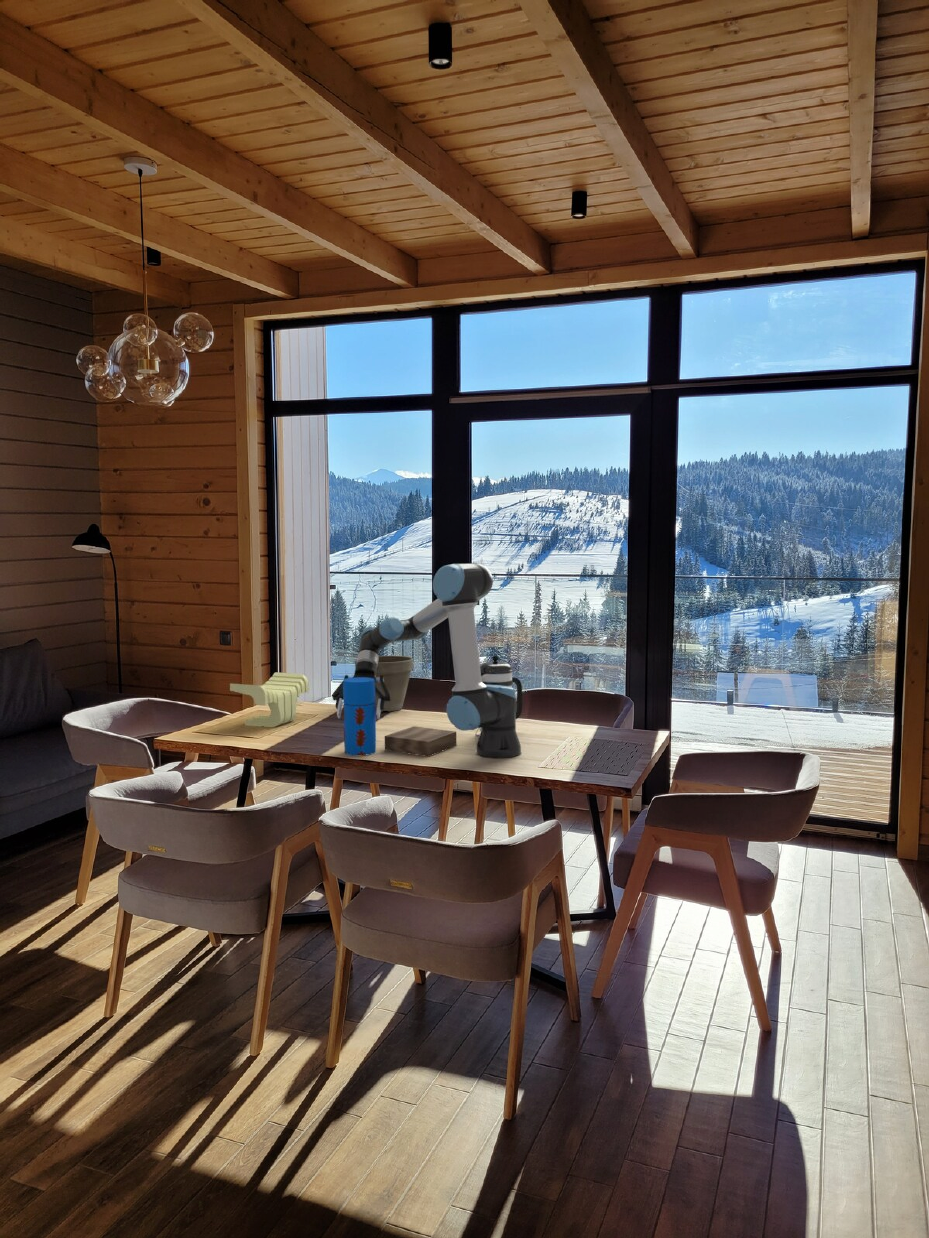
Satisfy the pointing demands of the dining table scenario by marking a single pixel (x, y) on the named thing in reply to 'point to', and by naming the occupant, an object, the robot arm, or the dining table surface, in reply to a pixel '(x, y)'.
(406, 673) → the plant pot
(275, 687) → the pale green ribbed part
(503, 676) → the coffee press
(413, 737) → the block
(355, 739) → the thermos
